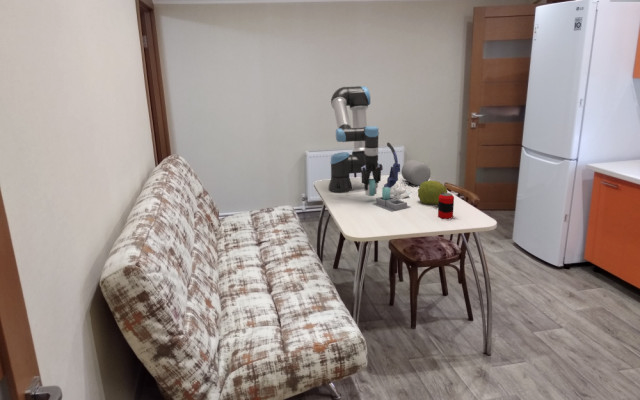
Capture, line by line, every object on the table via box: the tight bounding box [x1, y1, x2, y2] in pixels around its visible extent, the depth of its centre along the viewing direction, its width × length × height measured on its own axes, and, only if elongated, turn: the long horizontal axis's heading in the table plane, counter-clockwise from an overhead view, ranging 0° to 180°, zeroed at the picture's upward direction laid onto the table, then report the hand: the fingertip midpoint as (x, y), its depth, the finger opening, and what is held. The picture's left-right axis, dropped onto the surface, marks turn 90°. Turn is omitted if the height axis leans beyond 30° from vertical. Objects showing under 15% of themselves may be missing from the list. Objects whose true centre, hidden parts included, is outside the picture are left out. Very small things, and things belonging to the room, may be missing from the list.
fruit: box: [417, 179, 448, 206], centre depth 262 cm, size 16×14×15 cm
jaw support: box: [390, 182, 410, 200], centre depth 275 cm, size 12×9×10 cm
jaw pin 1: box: [368, 178, 376, 197], centre depth 267 cm, size 4×4×9 cm
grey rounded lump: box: [401, 159, 432, 187], centre depth 310 cm, size 19×15×25 cm
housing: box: [372, 196, 412, 213], centre depth 260 cm, size 18×14×4 cm
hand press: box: [383, 142, 401, 188], centre depth 295 cm, size 19×9×28 cm, turn 10°
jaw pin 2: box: [381, 186, 390, 201], centre depth 263 cm, size 4×4×9 cm
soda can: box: [437, 192, 455, 220], centre depth 241 cm, size 8×8×12 cm
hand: (371, 194), depth 269 cm, fingers closed on jaw pin 1, 4 cm apart
